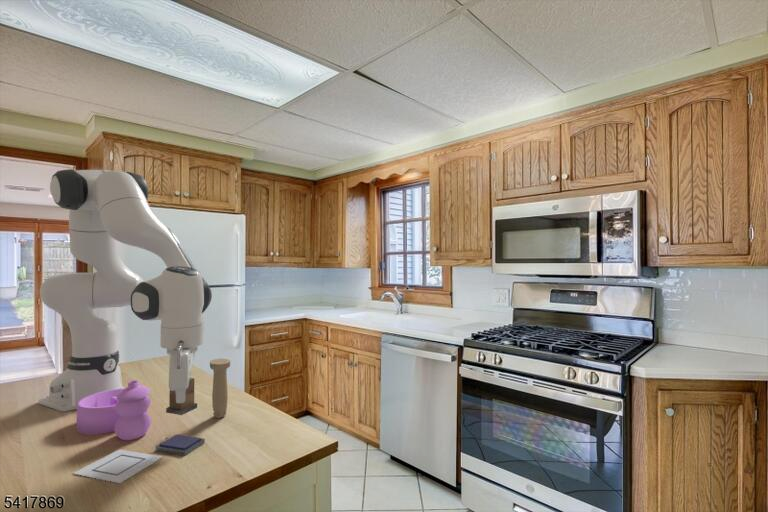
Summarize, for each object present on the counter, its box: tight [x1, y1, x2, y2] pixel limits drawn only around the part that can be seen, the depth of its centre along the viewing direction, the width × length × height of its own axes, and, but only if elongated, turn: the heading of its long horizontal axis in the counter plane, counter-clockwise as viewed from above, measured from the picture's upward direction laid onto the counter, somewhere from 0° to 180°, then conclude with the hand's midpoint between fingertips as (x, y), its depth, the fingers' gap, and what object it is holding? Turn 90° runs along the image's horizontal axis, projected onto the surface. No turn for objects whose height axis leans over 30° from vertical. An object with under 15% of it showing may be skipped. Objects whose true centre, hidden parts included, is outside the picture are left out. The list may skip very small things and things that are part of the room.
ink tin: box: [155, 434, 206, 457], centre depth 88 cm, size 8×6×1 cm
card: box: [72, 449, 163, 484], centre depth 80 cm, size 12×10×1 cm
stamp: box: [165, 377, 198, 416], centre depth 89 cm, size 4×4×7 cm
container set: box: [76, 379, 152, 441], centre depth 99 cm, size 25×15×13 cm, turn 52°
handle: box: [209, 358, 231, 419], centre depth 105 cm, size 5×6×15 cm
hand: (182, 396), depth 89 cm, fingers closed on stamp, 5 cm apart
